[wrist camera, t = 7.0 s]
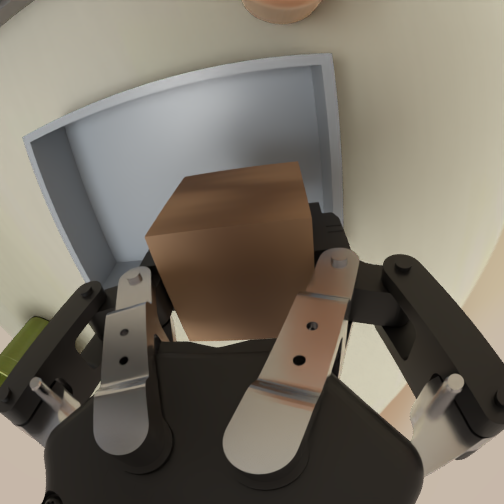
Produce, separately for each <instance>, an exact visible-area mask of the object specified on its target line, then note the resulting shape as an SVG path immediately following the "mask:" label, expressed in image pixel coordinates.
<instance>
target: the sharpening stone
mask: <svg viewBox="0 0 504 504" xmlns="http://www.w3.org/2000/svg"><path fill="white" fill-rule="evenodd" d="M33 1H34V0H0V27H1V26H2V25H3V24H4V23H6V22H7V21H8V20H9V19H10V18H12V17H13V16H14V15H15V14H17V13H18V12H19V11H21V10H22V9H23V8H25V7H26V6H27V5H29V4H30V3H31V2H33Z"/></svg>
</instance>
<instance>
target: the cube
mask: <svg viewBox="0 0 504 504" xmlns="http://www.w3.org/2000/svg"><path fill="white" fill-rule="evenodd" d="M145 240H146V242H147V245H148V248H149V250H150V253H151V255H152V258H153V260H154V262H155V265H156V267H157V270H158V272H159V274H160V277H161V279H162V281H163V284H164V286H165V288H166V291H167V293H168V295H169V298H170V300H171V302H172V304H173V306H174V309H175V311H176V313H177V315H178V317H179V319H180V322H181V324H182V326H183V328H184V330H185V332H186V334H187V336H188V338H189V340H190V341H226V340H251V339H268V338H278V336H279V333H280V331H281V329H282V327H283V325H284V323H285V320H286V318H287V316H288V314H289V311H290V309H291V307H292V305H293V303H294V300H295V298H296V296H297V294H298V293H299V292H300V291H302V292H306V290H307V287H308V285H309V282H310V280H311V277H312V275H313V272H314V270H315V268H314V246H313V229H312V216H311V212H310V208H309V204H308V199H307V195H306V191H305V187H304V183H303V179H302V175H301V171H300V167H299V163H298V161H296V162H286V163H277V164H268V165H260V166H252V167H244V168H237V169H230V170H223V171H217V172H210V173H204V174H198V175H192V176H186V177H184V178H183V180H182V181H181V183H180V184H179V185H178V187H177V188H176V190H175V191H174V193H173V194H172V196H171V197H170V198H169V200H168V201H167V203H166V204H165V206H164V207H163V209H162V210H161V212H160V213H159V215H158V216H157V218H156V220H155V221H154V223H153V224H152V226H151V227H150V229H149V230H148V232H147V234H146V235H145Z"/></svg>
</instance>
